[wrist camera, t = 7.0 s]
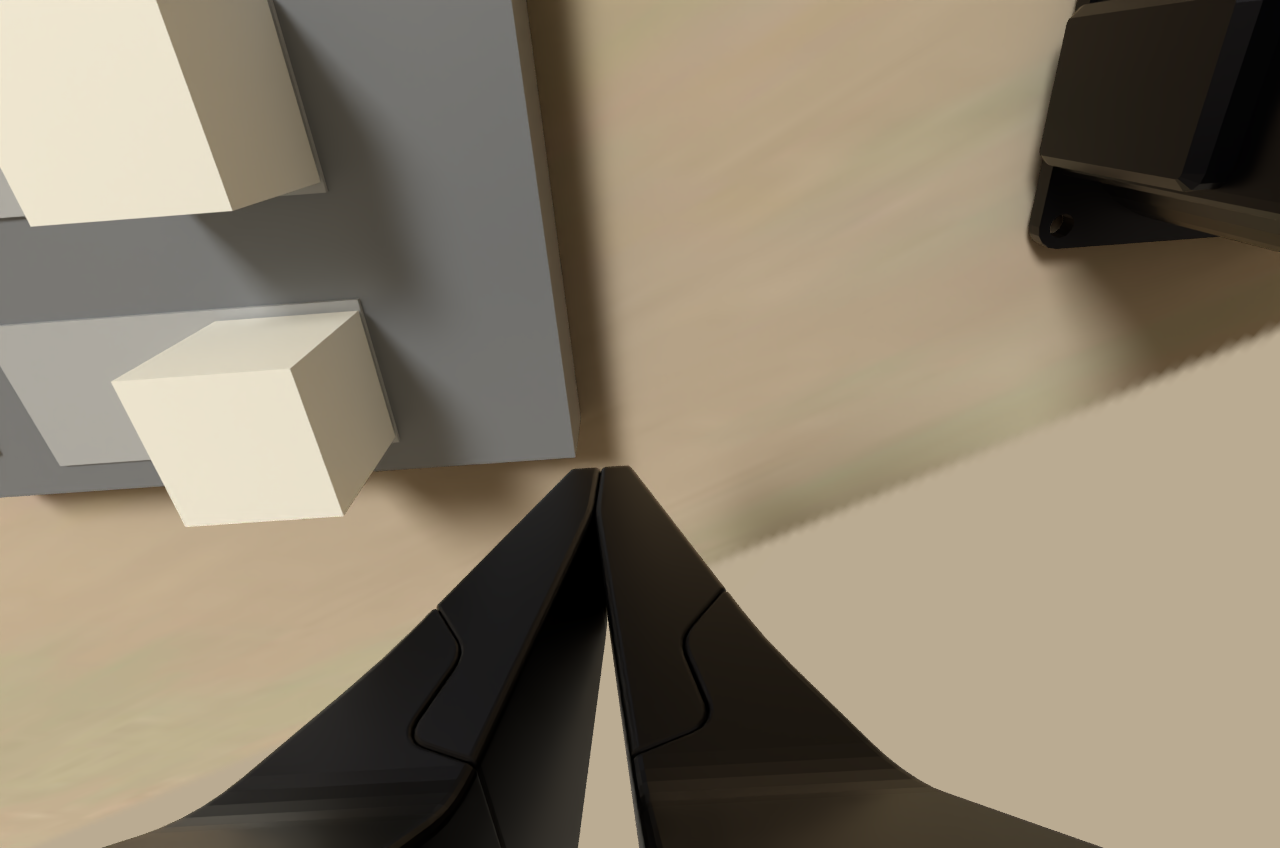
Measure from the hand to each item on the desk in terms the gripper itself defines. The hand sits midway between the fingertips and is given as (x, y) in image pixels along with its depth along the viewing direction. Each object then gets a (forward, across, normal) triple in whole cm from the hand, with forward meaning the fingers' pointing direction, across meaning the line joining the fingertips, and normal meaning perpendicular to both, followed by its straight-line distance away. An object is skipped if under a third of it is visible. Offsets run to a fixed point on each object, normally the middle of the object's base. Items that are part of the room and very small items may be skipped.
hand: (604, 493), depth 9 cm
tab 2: (+5, +7, 0) cm, 8 cm away
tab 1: (+5, +7, -5) cm, 10 cm away
